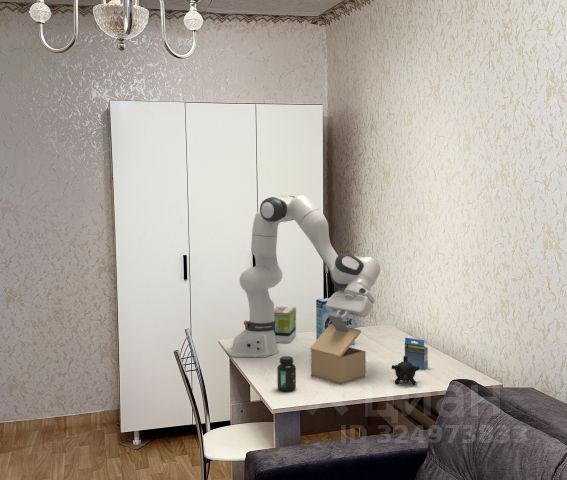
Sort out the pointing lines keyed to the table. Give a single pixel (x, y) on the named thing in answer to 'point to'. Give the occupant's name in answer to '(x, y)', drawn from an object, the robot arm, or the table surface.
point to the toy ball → (405, 371)
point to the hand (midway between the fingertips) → (339, 321)
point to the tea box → (285, 324)
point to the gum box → (324, 319)
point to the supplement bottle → (286, 374)
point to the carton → (339, 366)
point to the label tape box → (416, 353)
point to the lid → (335, 337)
